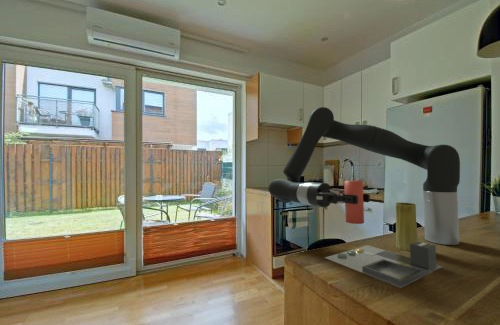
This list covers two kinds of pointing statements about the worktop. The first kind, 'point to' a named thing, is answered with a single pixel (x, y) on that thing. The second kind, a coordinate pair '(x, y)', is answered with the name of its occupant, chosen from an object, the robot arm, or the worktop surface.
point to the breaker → (423, 255)
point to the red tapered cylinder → (354, 211)
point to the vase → (406, 225)
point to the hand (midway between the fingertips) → (363, 198)
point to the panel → (382, 265)
